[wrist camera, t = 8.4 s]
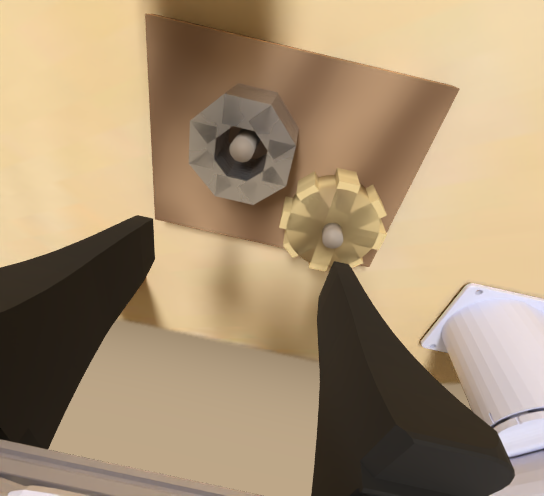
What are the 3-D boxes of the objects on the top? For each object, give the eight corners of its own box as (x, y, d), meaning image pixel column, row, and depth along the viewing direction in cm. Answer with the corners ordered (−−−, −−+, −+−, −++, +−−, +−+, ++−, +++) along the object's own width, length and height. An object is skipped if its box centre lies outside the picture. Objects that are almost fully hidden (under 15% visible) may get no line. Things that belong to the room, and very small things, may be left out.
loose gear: (305, 99, 16) (304, 112, 14) (284, 186, 19) (279, 211, 17) (210, 76, 16) (191, 85, 14) (204, 168, 19) (187, 189, 17)
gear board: (450, 85, 16) (487, 100, 13) (366, 257, 23) (375, 296, 20) (155, 14, 16) (112, 10, 12) (161, 211, 23) (135, 242, 20)
